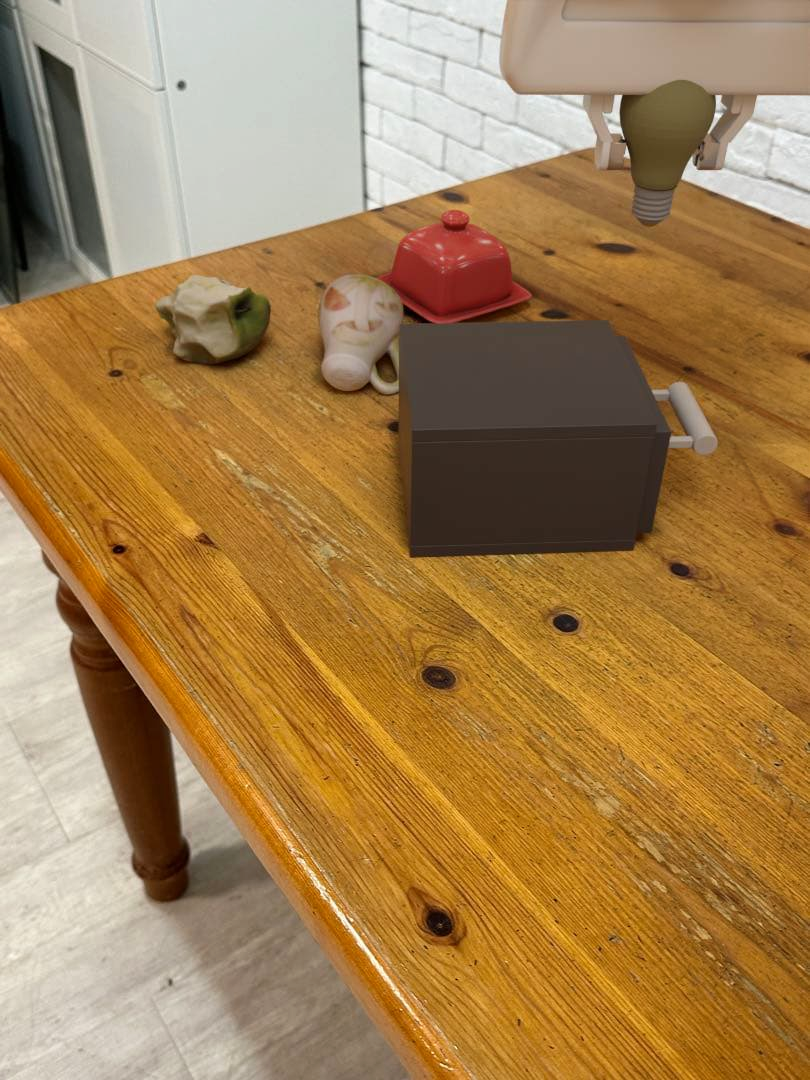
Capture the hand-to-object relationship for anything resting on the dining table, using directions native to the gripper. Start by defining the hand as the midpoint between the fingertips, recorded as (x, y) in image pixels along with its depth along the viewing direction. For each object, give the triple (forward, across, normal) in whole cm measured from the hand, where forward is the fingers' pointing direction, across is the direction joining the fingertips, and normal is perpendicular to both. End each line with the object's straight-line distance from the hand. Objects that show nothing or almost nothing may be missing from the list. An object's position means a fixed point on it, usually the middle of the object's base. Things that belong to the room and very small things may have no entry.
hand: (656, 167), depth 65 cm
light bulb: (+4, 0, 0) cm, 4 cm away
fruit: (+22, +30, -17) cm, 41 cm away
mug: (+22, +18, -14) cm, 31 cm away
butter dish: (+22, +10, -26) cm, 35 cm away
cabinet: (+21, +8, +4) cm, 23 cm away
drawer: (+20, +4, +4) cm, 21 cm away
